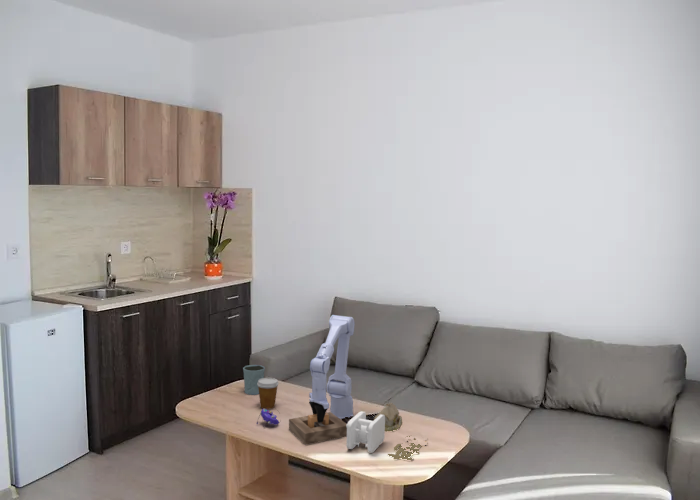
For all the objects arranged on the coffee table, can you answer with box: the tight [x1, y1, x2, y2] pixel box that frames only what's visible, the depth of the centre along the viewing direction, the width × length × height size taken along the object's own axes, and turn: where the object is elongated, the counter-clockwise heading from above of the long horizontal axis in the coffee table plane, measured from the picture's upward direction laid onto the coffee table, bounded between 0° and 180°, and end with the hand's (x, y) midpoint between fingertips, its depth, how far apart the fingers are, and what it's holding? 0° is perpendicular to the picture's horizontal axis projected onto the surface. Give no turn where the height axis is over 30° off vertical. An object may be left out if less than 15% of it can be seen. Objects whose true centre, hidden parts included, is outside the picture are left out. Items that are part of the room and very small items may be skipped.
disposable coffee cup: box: [257, 377, 279, 410], centre depth 275 cm, size 10×10×12 cm
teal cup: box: [242, 364, 266, 396], centre depth 293 cm, size 10×10×12 cm
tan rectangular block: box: [307, 412, 329, 428], centre depth 247 cm, size 8×3×5 cm, turn 119°
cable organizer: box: [345, 411, 386, 454], centre depth 236 cm, size 15×11×12 cm
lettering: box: [387, 435, 422, 460], centre depth 236 cm, size 25×10×1 cm, turn 153°
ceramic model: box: [373, 402, 403, 432], centre depth 257 cm, size 14×11×10 cm
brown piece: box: [288, 411, 347, 446], centre depth 248 cm, size 19×16×4 cm
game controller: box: [256, 406, 281, 428], centre depth 255 cm, size 10×8×10 cm
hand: (318, 420), depth 247 cm, fingers closed on tan rectangular block, 3 cm apart
